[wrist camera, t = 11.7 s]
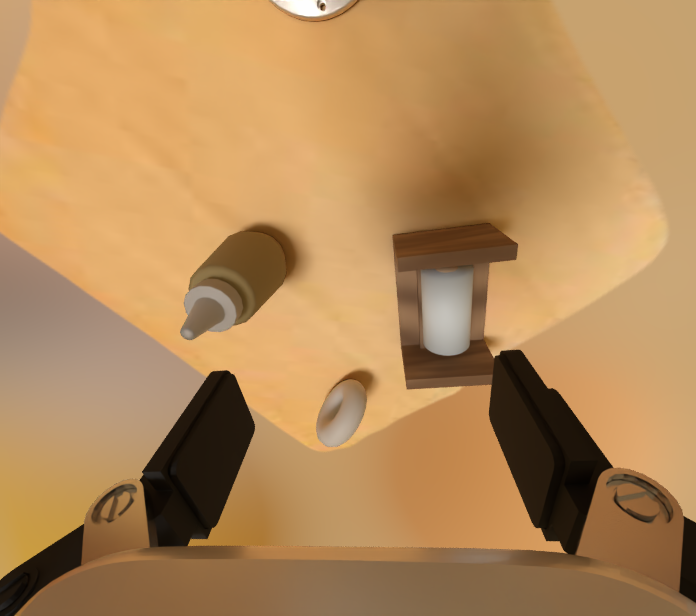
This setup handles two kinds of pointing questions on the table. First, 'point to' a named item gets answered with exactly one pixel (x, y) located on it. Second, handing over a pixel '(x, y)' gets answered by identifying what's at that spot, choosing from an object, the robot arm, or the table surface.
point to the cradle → (411, 258)
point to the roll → (447, 308)
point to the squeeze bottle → (233, 283)
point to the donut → (341, 413)
